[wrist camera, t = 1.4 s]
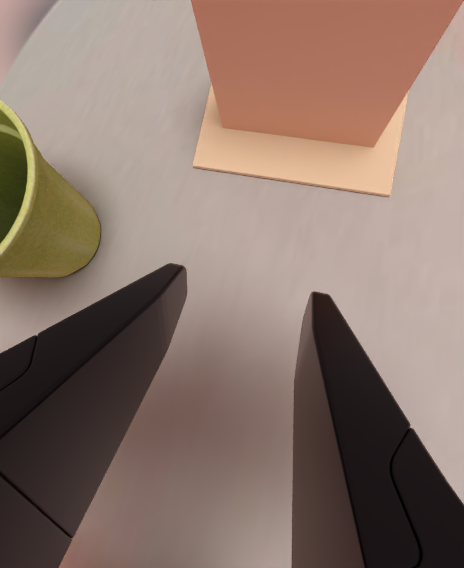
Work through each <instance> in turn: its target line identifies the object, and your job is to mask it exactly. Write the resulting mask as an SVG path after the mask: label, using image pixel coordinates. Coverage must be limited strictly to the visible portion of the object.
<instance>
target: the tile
mask: <svg viewBox="0 0 464 568" xmlns="http://www.w3.org/2000/svg"><path fill="white" fill-rule="evenodd" d="M463 1H464V0H191V3H192V7H193V11H194V15H195V19H196V23H197V27H198V31H199V35H200V39H201V43H202V47H203V51H204V55H205V59H206V63H207V67H208V71H209V75H210V79H211V83H212V87H213V91H214V95H215V99H216V103H217V107H218V111H219V115H220V119H221V123H222V127H223V128H226V129H234V130H242V131H249V132H257V133H265V134H272V135H280V136H288V137H295V138H303V139H311V140H318V141H326V142H334V143H341V144H349V145H357V146H364V147H372V148H374V146H375V145H376V143H377V141H378V140H379V138H380V136H381V135H382V133H383V131H384V130H385V128H386V127H387V125H388V123H389V122H390V120H391V118H392V117H393V115H394V114H395V112H396V110H397V109H398V107H399V105H400V104H401V102H402V101H403V99H404V97H405V96H406V94H407V92H408V91H409V89H410V87H411V86H412V84H413V83H414V81H415V79H416V78H417V76H418V74H419V73H420V71H421V70H422V68H423V66H424V65H425V63H426V61H427V60H428V58H429V56H430V55H431V53H432V52H433V50H434V48H435V47H436V45H437V43H438V42H439V40H440V39H441V37H442V35H443V34H444V32H445V30H446V29H447V27H448V25H449V24H450V22H451V21H452V19H453V17H454V16H455V14H456V12H457V11H458V9H459V8H460V6H461V4H462V3H463Z"/></svg>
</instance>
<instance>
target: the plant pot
mask: <svg viewBox="0 0 464 568" xmlns="http://www.w3.org/2000/svg"><path fill="white" fill-rule="evenodd" d="M100 234H101V229H100V223H99V220H98V218H97V215H96V213H95V211H94V209H93V207H92V206H91V205H90V204H89V203H88V202H87V201H86V200H85V199H84V198H83V197H82V196H81V195H80V194H79V193H78V192H77V191H76V190H75V189H74V188H73V187H72V186H71V185H70V184H69V183H68V182H67V181H66V180H65V179H64V178H63V177H62V176H61V175H60V174H59V173H58V172H57V171H56V170H55V169H54V168H53V167H52V166H50V165H49V164H48V163H47V162H46V161H45V160H44V159H43V157H42V155H41V153H40V152H39V150H38V149H37V147H36V146H35V144H34V143H33V140H32V138H31V135H30V133H29V131H28V129H27V128H26V126H25V125H24V123H23V122H22V120H21V119H20V118H19V117H18V116H17V114H16V113H15V112H14V111H13V110H12V109H11V108H10V107H9V106H7V105H6V104H5V103H3V102H2V101H1V100H0V277H64V276H68V275H69V274H71V273H73V272H75V271H77V270H78V269H80V268H82V267H84V266H85V265H86V264H87V263H88V262H89V261H90V260H91V259H92V257H93V256H94V254H95V252H96V250H97V248H98V245H99V241H100Z"/></svg>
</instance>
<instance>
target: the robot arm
mask: <svg viewBox="0 0 464 568" xmlns="http://www.w3.org/2000/svg"><path fill="white" fill-rule="evenodd" d="M186 297H187V272H186V268H185V267H184V266H183V265H178V264H173V263H169V264H167V265H165V266H163V267H161V268H159V269H157V270H155V271H153V272H152V273H150V274H148V275H146V276H144V277H142V278H140V279H139V280H137V281H135V282H133V283H131V284H129V285H127V286H126V287H124V288H122V289H120V290H118V291H116V292H114V293H113V294H111V295H109V296H107V297H105V298H103V299H101V300H100V301H98V302H96V303H94V304H92V305H90V306H88V307H87V308H85V309H83V310H81V311H79V312H77V313H75V314H73V315H72V316H70V317H68V318H66V319H64V320H62V321H60V322H59V323H57V324H55V325H53V326H51V327H49V328H47V329H46V330H44V331H42V332H40V333H39V334H38V336H36V335H34V336H32V337H30V338H29V339H27V340H25V341H23V342H21V343H19V344H17V345H16V346H14V347H12V348H10V349H8V350H6V351H4V352H2V353H0V568H58V567H59V565H60V563H61V561H62V559H63V557H64V555H65V553H66V551H67V549H68V547H69V545H70V543H71V541H72V539H71V538H73V537H74V535H75V533H76V531H77V529H78V527H79V525H80V523H81V521H82V519H83V517H84V515H85V513H86V511H87V509H88V507H89V505H90V503H91V501H92V499H93V497H94V495H95V493H96V491H97V489H98V487H99V485H100V483H101V481H102V479H103V477H104V475H105V473H106V471H107V469H108V467H109V465H110V463H111V461H112V460H113V458H114V456H115V454H116V452H117V450H118V448H119V446H120V444H121V442H122V440H123V438H124V436H125V434H126V432H127V430H128V428H129V426H130V424H131V422H132V420H133V418H134V416H135V414H136V412H137V410H138V408H139V406H140V404H141V402H142V400H143V398H144V396H145V394H146V392H147V390H148V388H149V386H150V384H151V382H152V380H153V378H154V376H155V374H156V372H157V370H158V368H159V366H160V364H161V362H162V360H163V358H164V356H165V354H166V352H167V350H168V347H169V344H170V342H171V339H172V336H173V333H174V331H175V328H176V325H177V322H178V320H179V317H180V314H181V311H182V309H183V306H184V303H185V300H186ZM292 568H464V504H463V503H462V501H461V500H460V499H459V497H458V496H457V494H456V493H455V492H454V490H453V489H452V487H451V486H450V485H449V483H448V482H447V480H446V479H445V477H444V476H443V474H442V473H441V471H440V469H439V468H438V466H437V465H436V463H435V462H434V460H433V459H432V457H431V456H430V454H429V453H428V451H427V450H426V448H425V446H424V445H423V443H422V442H421V440H420V438H419V437H418V435H417V434H416V432H415V430H414V429H413V428H410V423H409V421H408V420H407V418H406V416H405V415H404V413H403V412H402V410H401V408H400V407H399V405H398V404H397V402H396V400H395V399H394V397H393V396H392V394H391V392H390V391H389V389H388V388H387V386H386V384H385V383H384V381H383V380H382V378H381V376H380V375H379V373H378V372H377V370H376V368H375V367H374V365H373V364H372V362H371V360H370V359H369V357H368V355H367V354H366V352H365V351H364V349H363V347H362V346H361V344H360V343H359V341H358V339H357V338H356V336H355V335H354V333H353V331H352V330H351V328H350V327H349V325H348V323H347V322H346V320H345V319H344V317H343V315H342V314H341V312H340V311H339V309H338V307H337V306H336V304H335V303H334V301H333V299H332V298H331V296H330V295H328V294H325V293H320V292H312V293H311V294H310V297H309V300H308V304H307V307H306V310H305V314H304V317H303V322H302V328H301V335H300V342H299V349H298V356H297V363H296V370H295V379H294V424H293V500H292Z"/></svg>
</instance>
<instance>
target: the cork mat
mask: <svg viewBox="0 0 464 568" xmlns="http://www.w3.org/2000/svg"><path fill="white" fill-rule="evenodd" d="M407 97H408V92H407V94H406V96H405V97H404V99H403V101H402V102H401V104H400V105H399V107H398V109H397V110H396V112H395V114H394V115H393V117H392V118H391V120H390V122H389V123H388V125H387V127H386V128H385V130H384V131H383V133H382V135H381V136H380V138H379V140H378V141H377V143H376V145H375V146H374V148H372V147H364V146H357V145H349V144H341V143H334V142H326V141H318V140H311V139H303V138H295V137H288V136H280V135H272V134H265V133H257V132H249V131H242V130H234V129H226V128H223V127H222V123H221V119H220V115H219V111H218V107H217V103H216V99H215V95H214V91H213V87H212V83H211V87H210V91H209V96H208V100H207V105H206V109H205V113H204V118H203V122H202V126H201V131H200V135H199V140H198V144H197V148H196V153H195V157H194V161H193V167H194V168H200V169H207V170H213V171H220V172H226V173H233V174H240V175H246V176H253V177H260V178H266V179H273V180H280V181H286V182H293V183H300V184H306V185H313V186H320V187H326V188H333V189H340V190H346V191H353V192H360V193H366V194H373V195H379V196H386V197H389V196H390V194H391V188H392V182H393V177H394V171H395V165H396V159H397V154H398V148H399V142H400V137H401V131H402V125H403V119H404V114H405V108H406V102H407Z"/></svg>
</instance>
